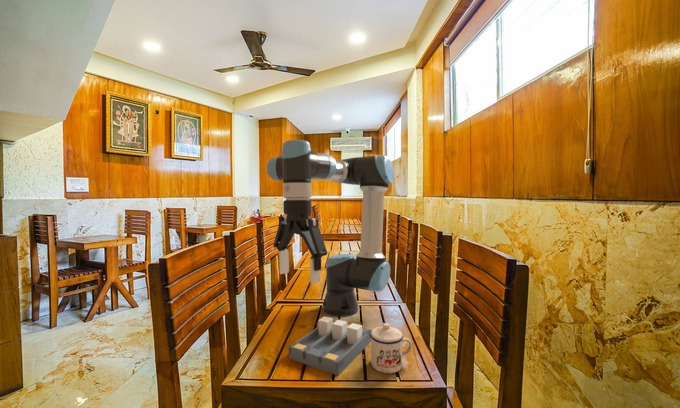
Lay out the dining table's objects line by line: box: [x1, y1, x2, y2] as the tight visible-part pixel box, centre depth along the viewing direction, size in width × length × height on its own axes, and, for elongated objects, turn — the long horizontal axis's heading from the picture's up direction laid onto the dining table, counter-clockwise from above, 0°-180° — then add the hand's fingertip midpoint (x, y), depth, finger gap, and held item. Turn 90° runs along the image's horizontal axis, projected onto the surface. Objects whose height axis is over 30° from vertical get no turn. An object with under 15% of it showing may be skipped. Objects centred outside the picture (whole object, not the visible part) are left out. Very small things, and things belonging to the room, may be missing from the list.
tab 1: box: [317, 315, 334, 336], centre depth 98 cm, size 4×4×5 cm
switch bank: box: [288, 320, 373, 376], centre depth 92 cm, size 22×17×4 cm
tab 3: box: [347, 322, 363, 345], centre depth 93 cm, size 4×4×5 cm
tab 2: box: [332, 319, 348, 340], centre depth 95 cm, size 4×4×5 cm
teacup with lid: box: [370, 322, 413, 374], centre depth 83 cm, size 12×9×12 cm
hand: (298, 277), depth 79 cm, fingers open, 13 cm apart
